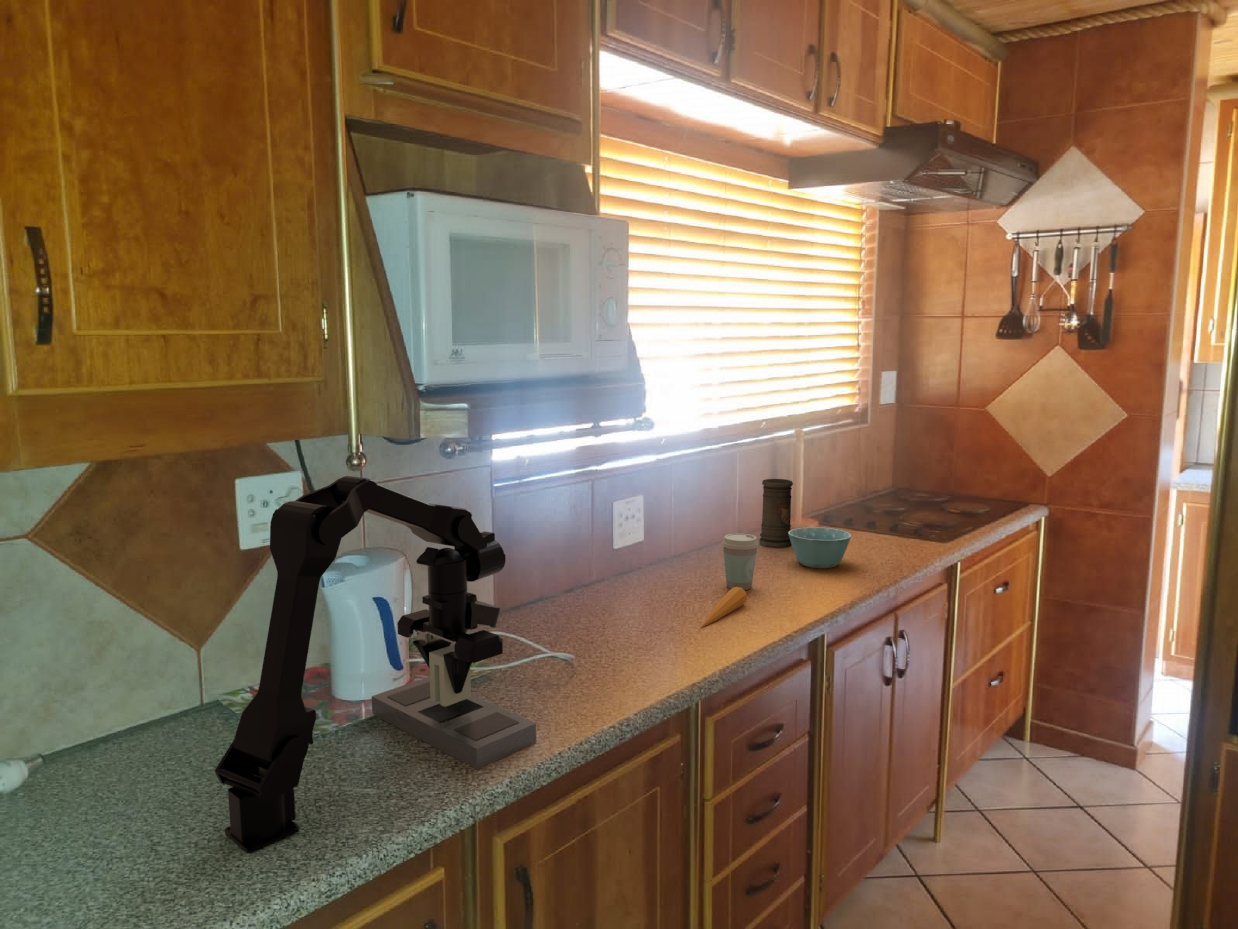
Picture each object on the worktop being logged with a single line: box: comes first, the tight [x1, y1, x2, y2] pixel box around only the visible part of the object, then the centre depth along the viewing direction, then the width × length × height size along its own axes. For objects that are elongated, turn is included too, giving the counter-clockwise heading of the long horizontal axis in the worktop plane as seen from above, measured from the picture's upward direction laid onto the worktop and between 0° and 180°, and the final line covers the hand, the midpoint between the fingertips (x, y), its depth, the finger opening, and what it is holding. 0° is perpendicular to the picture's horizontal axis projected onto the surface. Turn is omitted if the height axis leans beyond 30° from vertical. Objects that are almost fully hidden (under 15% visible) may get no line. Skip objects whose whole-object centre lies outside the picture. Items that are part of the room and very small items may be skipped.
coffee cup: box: [721, 533, 760, 591], centre depth 211 cm, size 8×8×12 cm
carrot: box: [699, 587, 748, 628], centre depth 191 cm, size 20×4×4 cm, turn 149°
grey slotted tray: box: [371, 676, 537, 770], centre depth 137 cm, size 11×26×3 cm, turn 48°
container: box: [758, 478, 794, 548], centre depth 252 cm, size 9×9×18 cm
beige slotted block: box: [429, 644, 472, 707], centre depth 136 cm, size 5×4×8 cm
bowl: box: [788, 526, 852, 569], centre depth 232 cm, size 16×16×8 cm
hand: (450, 689), depth 136 cm, fingers closed on beige slotted block, 4 cm apart
